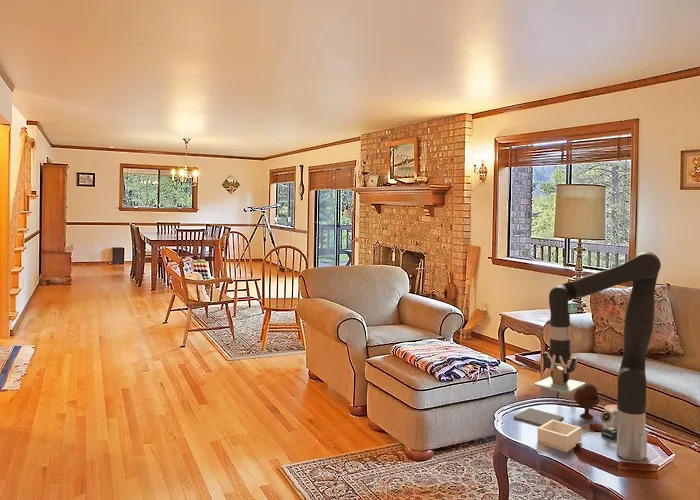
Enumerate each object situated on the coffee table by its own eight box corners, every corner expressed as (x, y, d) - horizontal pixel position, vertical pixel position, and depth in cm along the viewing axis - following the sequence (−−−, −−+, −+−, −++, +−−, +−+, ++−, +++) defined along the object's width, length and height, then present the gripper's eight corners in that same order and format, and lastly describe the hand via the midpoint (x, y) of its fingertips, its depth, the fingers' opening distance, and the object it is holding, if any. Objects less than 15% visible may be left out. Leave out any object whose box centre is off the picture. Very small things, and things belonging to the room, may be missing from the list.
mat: (563, 419, 248) (563, 416, 248) (547, 428, 238) (547, 426, 238) (529, 410, 259) (529, 407, 259) (513, 418, 250) (513, 416, 250)
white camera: (633, 425, 240) (634, 403, 239) (630, 434, 231) (631, 411, 230) (605, 420, 245) (606, 399, 245) (601, 429, 236) (602, 406, 236)
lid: (585, 387, 222) (585, 367, 221) (568, 396, 212) (569, 375, 212) (551, 380, 232) (551, 361, 231) (534, 388, 222) (534, 368, 222)
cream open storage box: (581, 442, 224) (581, 427, 223) (566, 452, 215) (567, 436, 215) (552, 433, 232) (552, 419, 232) (537, 442, 224) (537, 427, 224)
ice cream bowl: (595, 412, 254) (595, 379, 253) (603, 422, 243) (604, 387, 242) (570, 412, 256) (570, 379, 254) (577, 421, 244) (578, 387, 243)
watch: (597, 436, 229) (598, 409, 228) (611, 432, 233) (612, 406, 232) (609, 441, 224) (610, 414, 223) (623, 437, 228) (624, 410, 227)
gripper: (582, 338, 218) (582, 382, 219) (547, 332, 228) (547, 375, 230) (573, 341, 213) (573, 387, 214) (538, 336, 223) (538, 379, 225)
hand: (559, 380), depth 222 cm, fingers closed on lid, 4 cm apart
